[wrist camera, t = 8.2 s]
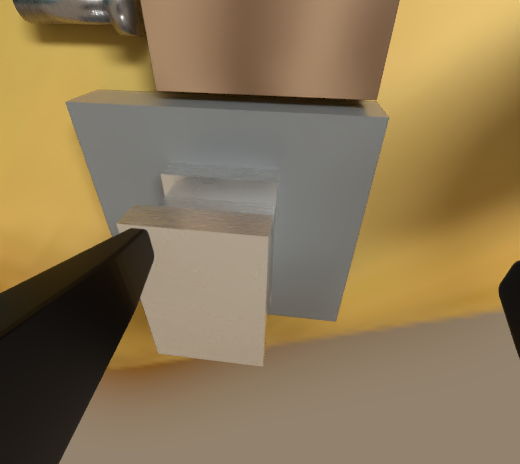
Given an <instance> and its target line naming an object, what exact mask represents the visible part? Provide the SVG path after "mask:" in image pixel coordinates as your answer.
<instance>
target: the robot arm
mask: <svg viewBox="0 0 520 464" xmlns="http://www.w3.org/2000/svg"><path fill="white" fill-rule="evenodd" d="M153 261H154V250H153V247H152V243H151V240H150V236H149V233H148V232H147V230H145V229H139V228H130V229H128V230H126V231H124V232H122V233H120V234H118V235H116V236H114V237H112V238H110V239H108V240H106V241H104V242H102V243H100V244H98V245H96V246H94V247H92V248H90V249H88V250H86V251H84V252H82V253H80V254H78V255H76V256H74V257H72V258H70V259H68V260H66V261H64V262H62V263H60V264H58V265H56V266H54V267H52V268H50V269H48V270H46V271H44V272H42V273H40V274H38V275H36V276H34V277H32V278H30V279H28V280H26V281H24V282H22V283H20V284H18V285H16V286H14V287H12V288H10V289H8V290H6V291H4V292H2V293H0V464H59V462H60V460H61V458H62V456H63V454H64V452H65V450H66V448H67V446H68V444H69V442H70V440H71V438H72V436H73V434H74V432H75V430H76V428H77V426H78V424H79V422H80V420H81V418H82V416H83V414H84V412H85V410H86V408H87V406H88V404H89V402H90V400H91V398H92V396H93V394H94V392H95V390H96V388H97V386H98V384H99V382H100V380H101V378H102V376H103V374H104V372H105V370H106V368H107V366H108V364H109V362H110V360H111V358H112V356H113V354H114V352H115V350H116V348H117V346H118V344H119V342H120V340H121V338H122V336H123V334H124V332H125V330H126V328H127V326H128V324H129V322H130V320H131V318H132V316H133V314H134V312H135V310H136V307H137V305H138V302H139V299H140V297H141V294H142V291H143V289H144V286H145V283H146V280H147V278H148V275H149V272H150V270H151V267H152V264H153ZM499 297H500V300H501V303H502V306H503V309H504V313H505V315H506V319H507V322H508V325H509V328H510V331H511V335H512V337H513V341H514V344H515V347H516V350H517V353H518V355H519V358H520V261H517V262H515V263H514V264H513V265H512V267H511V268H510V270H509V271H508V273H507V274H506V276H505V277H504V279H503V280H502V282H501V283H500V285H499Z"/></svg>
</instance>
